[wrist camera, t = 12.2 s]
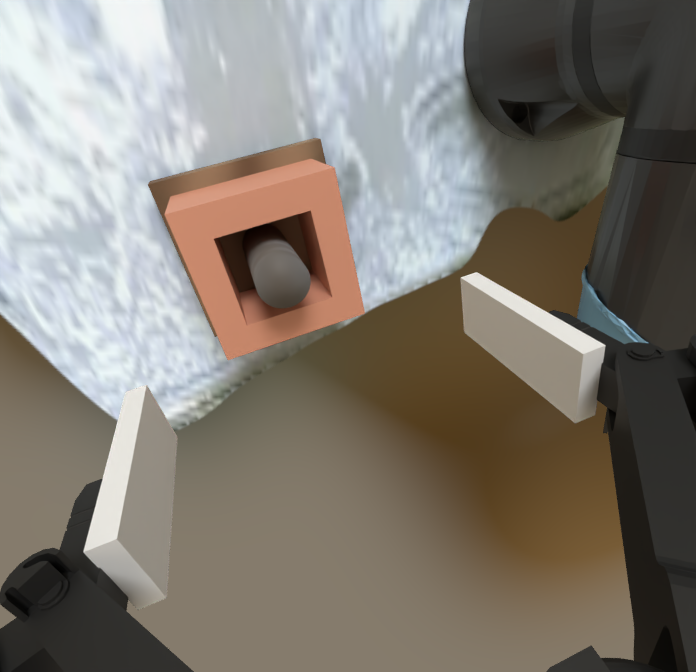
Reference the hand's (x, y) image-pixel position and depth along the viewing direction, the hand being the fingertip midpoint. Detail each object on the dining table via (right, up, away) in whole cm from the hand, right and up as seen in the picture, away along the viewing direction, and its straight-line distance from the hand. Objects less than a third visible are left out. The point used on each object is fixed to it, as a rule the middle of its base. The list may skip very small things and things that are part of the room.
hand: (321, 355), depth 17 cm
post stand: (-6, +8, +16) cm, 19 cm away
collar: (-5, +8, +14) cm, 17 cm away
